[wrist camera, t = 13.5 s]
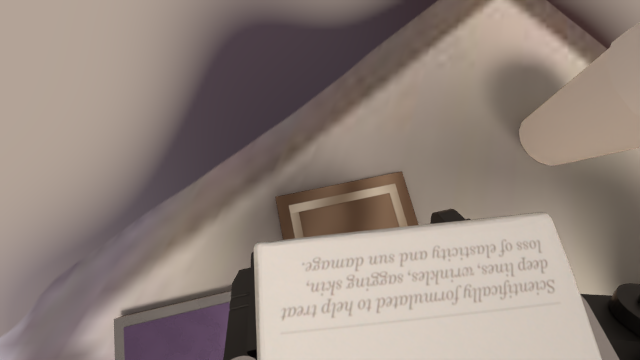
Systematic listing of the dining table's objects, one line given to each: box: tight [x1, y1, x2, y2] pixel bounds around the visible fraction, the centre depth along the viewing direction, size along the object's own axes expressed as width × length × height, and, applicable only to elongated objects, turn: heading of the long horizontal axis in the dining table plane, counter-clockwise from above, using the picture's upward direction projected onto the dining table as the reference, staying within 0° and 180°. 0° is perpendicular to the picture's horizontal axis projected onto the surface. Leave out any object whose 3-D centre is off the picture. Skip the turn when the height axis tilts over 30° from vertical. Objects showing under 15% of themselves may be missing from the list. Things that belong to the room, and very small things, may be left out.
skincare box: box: [254, 212, 602, 360], centre depth 10 cm, size 6×4×12 cm
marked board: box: [276, 172, 418, 240], centre depth 26 cm, size 13×13×1 cm
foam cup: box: [519, 22, 640, 166], centre depth 24 cm, size 10×9×13 cm
